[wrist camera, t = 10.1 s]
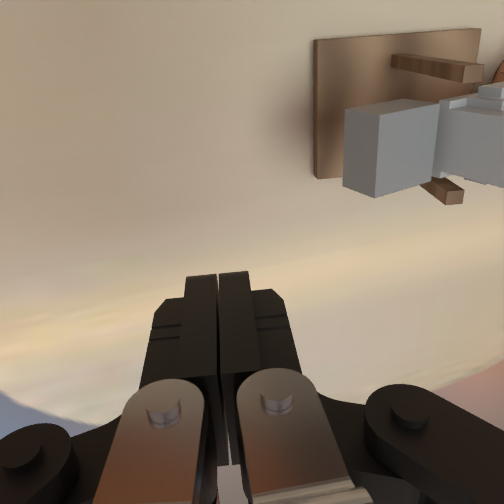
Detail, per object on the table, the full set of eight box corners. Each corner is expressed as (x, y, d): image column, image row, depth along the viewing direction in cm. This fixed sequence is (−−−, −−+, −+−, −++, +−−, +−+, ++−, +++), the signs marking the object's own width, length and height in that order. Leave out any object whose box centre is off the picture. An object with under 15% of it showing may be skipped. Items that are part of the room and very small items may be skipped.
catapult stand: (314, 174, 44) (354, 233, 32) (314, 39, 39) (362, 46, 26) (453, 162, 45) (546, 215, 32) (472, 28, 39) (592, 29, 27)
